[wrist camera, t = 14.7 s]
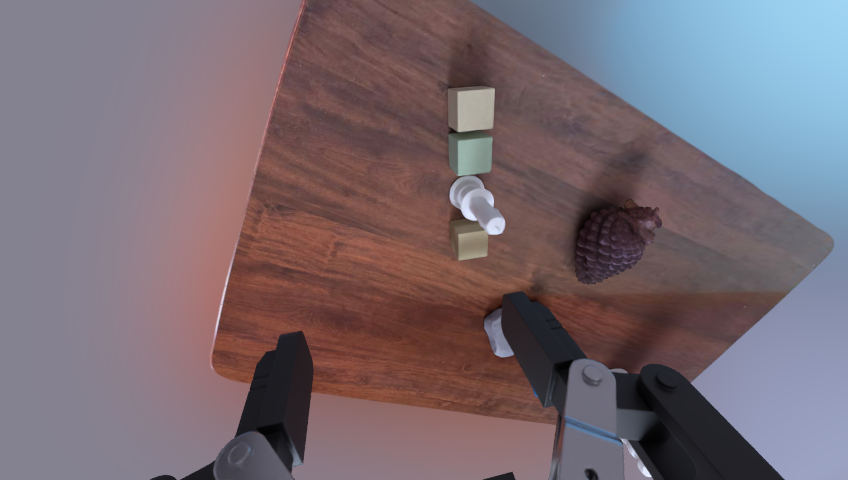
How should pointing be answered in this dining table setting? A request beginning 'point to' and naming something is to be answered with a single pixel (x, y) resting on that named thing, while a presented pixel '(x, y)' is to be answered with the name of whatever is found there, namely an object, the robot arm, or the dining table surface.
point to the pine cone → (614, 241)
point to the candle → (476, 204)
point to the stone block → (497, 334)
